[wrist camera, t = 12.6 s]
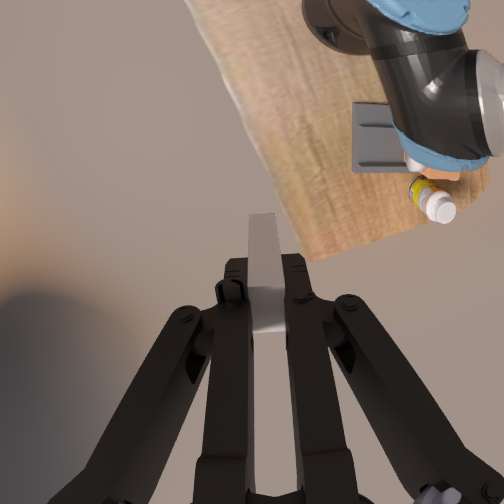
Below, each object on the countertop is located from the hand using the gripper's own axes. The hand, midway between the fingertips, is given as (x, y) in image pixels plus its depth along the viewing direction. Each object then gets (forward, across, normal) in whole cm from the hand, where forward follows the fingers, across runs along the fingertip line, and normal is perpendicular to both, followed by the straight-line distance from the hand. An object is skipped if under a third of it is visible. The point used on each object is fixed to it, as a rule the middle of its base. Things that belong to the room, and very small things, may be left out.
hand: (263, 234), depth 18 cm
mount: (+32, +24, -1) cm, 40 cm away
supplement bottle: (+33, +29, -11) cm, 45 cm away
